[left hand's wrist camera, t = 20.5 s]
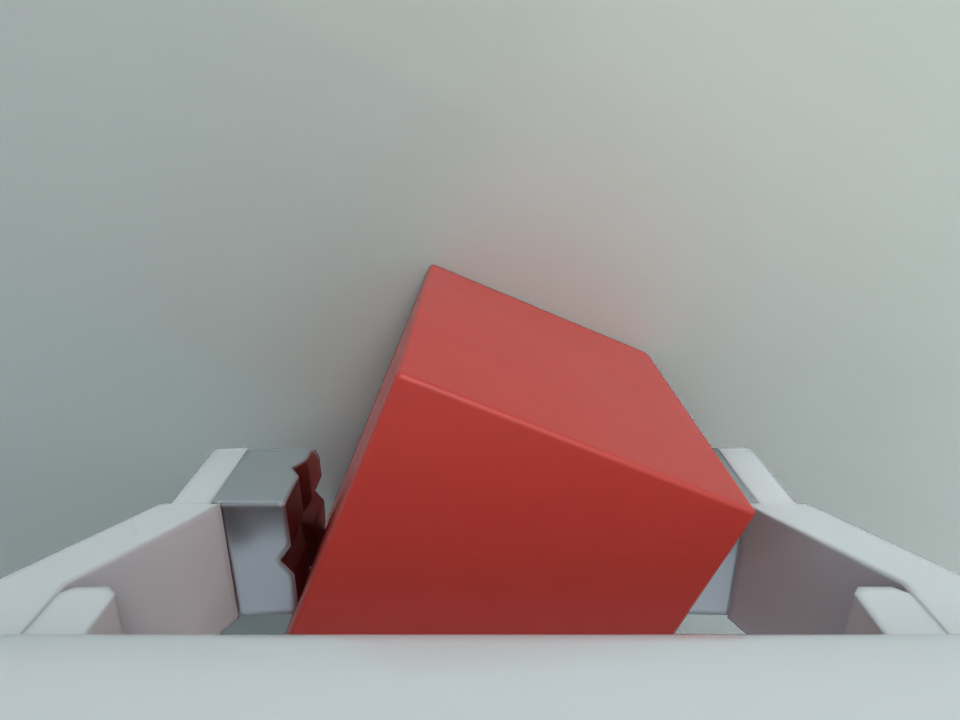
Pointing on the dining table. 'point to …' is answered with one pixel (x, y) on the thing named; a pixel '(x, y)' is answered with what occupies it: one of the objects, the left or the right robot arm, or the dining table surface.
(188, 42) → the dining table surface
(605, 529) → the block
